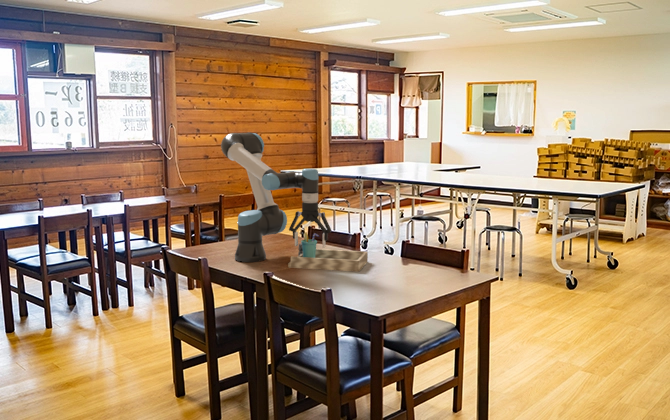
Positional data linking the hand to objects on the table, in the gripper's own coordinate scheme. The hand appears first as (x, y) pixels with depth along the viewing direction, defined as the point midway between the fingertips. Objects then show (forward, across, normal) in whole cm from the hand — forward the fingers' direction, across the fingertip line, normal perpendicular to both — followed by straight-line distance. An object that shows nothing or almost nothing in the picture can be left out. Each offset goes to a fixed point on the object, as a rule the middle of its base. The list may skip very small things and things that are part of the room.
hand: (310, 246), depth 296 cm
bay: (+8, +9, 0) cm, 12 cm away
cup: (+8, 0, 0) cm, 8 cm away
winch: (+8, -7, +16) cm, 19 cm away
